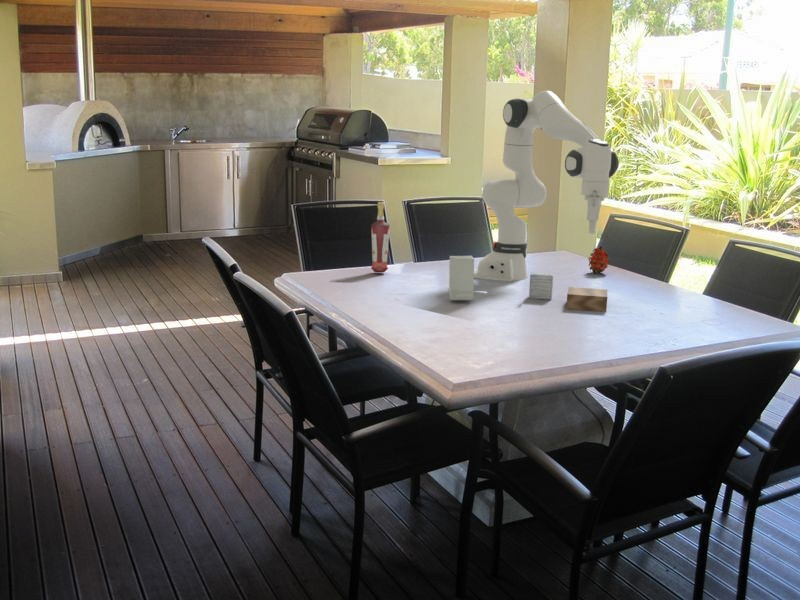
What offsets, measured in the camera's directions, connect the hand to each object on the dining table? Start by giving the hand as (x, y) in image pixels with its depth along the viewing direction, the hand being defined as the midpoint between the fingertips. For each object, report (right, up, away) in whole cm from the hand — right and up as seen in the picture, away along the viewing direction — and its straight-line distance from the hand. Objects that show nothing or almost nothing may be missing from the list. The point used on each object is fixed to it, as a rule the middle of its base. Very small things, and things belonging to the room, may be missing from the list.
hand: (591, 231), depth 281 cm
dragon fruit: (+17, -12, +67) cm, 70 cm away
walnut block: (-1, -25, +5) cm, 26 cm away
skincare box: (-43, -23, +13) cm, 50 cm away
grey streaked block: (-14, -22, +17) cm, 32 cm away
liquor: (-72, -11, +61) cm, 95 cm away
